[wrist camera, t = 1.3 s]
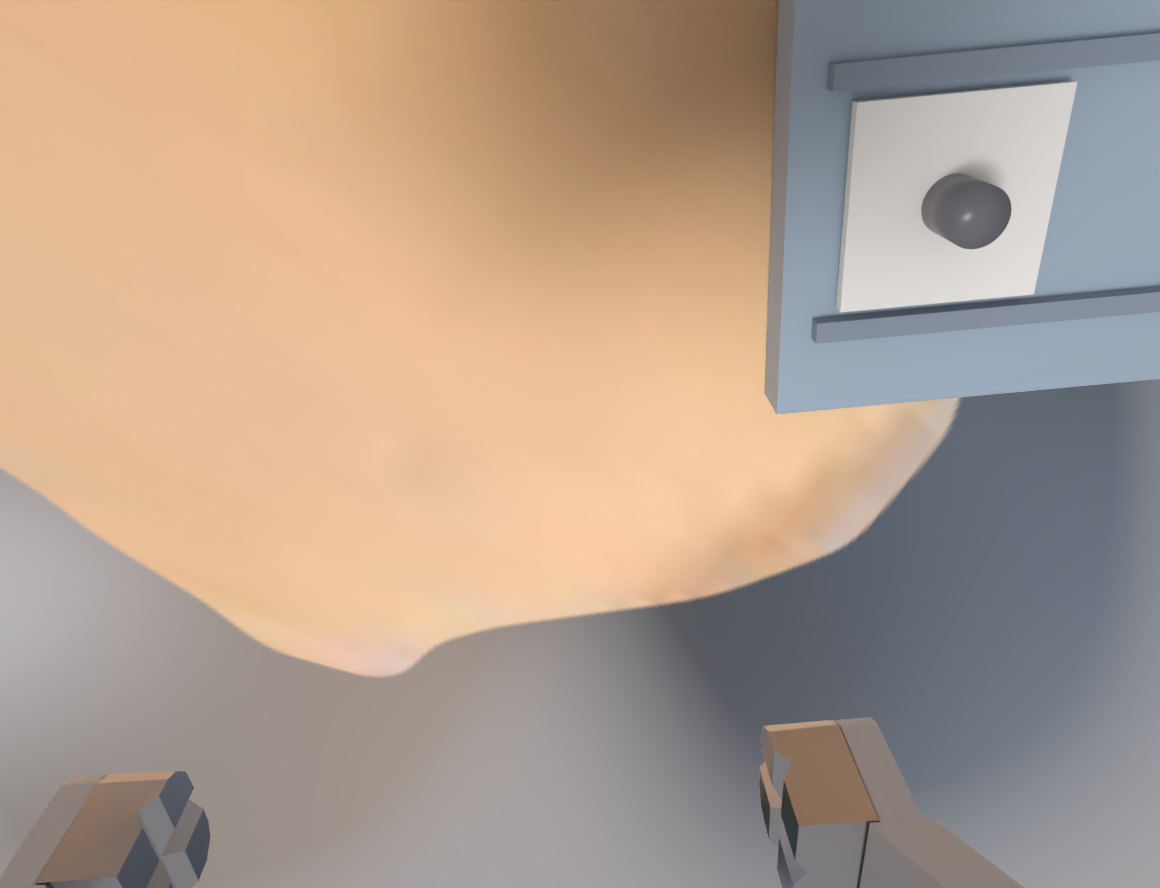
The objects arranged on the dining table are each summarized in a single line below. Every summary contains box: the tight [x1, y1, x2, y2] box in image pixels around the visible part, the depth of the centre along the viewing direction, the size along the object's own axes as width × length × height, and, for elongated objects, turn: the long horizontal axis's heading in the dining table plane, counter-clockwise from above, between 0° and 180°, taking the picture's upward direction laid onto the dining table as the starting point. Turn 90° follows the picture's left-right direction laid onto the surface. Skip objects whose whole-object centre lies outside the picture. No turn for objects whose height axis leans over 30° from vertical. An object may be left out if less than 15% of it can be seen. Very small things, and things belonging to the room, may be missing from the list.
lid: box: [836, 81, 1077, 312], centre depth 33 cm, size 9×9×3 cm
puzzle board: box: [765, 0, 1160, 414], centre depth 36 cm, size 20×22×3 cm
